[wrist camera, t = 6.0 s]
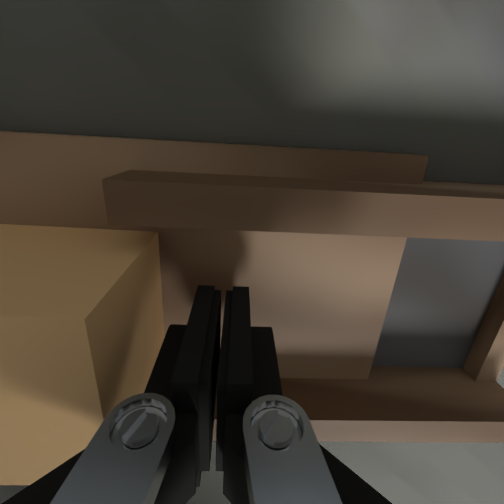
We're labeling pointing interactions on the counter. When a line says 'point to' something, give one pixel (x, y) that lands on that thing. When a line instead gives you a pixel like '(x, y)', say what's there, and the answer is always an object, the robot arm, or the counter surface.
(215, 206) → the brown piece
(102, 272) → the block
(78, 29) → the counter surface
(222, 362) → the robot arm
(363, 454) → the counter surface
